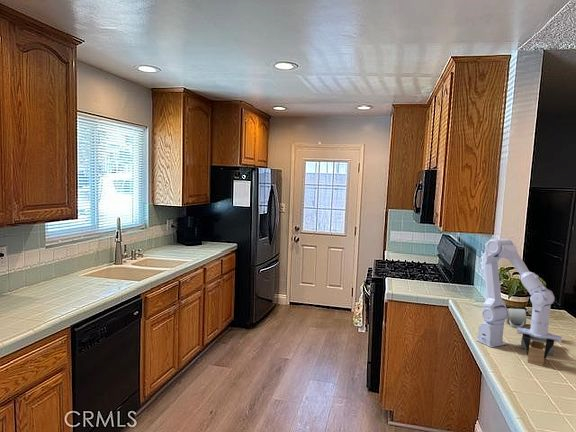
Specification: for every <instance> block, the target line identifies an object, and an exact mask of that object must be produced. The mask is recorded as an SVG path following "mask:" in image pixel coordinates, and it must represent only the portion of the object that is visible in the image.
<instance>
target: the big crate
mask: <svg viewBox="0 0 576 432" xmlns="http://www.w3.org/2000/svg"><path fill="white" fill-rule="evenodd" d="M521 335H522V336H521V343H520V349H523V350H526V345H525V343H524V340H523V334H521ZM531 340H534V341H539V342H543V343H546V340H547V339H542V338H538V337H533V336H531V337H530V342H531ZM554 347H555V346H554V345H553V346H552V347H551V349H550V350H549V352H548V354H547V356H548V355H549V356H553V355H554V354H553V352H554ZM545 349H546V346H545Z"/></svg>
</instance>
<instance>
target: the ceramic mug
mask: <svg viewBox="0 0 576 432" xmlns="http://www.w3.org/2000/svg"><path fill="white" fill-rule="evenodd" d="M507 310H508V312H509V315H508V318H507V319H505V322H506V324H509V325H510V326H511V327H512V328H515V329H517V328H523V327H526V324H527V312H526V309H524V308H507Z"/></svg>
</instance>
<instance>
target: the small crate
mask: <svg viewBox="0 0 576 432" xmlns="http://www.w3.org/2000/svg"><path fill="white" fill-rule="evenodd" d="M545 346H546V343H543V342H539V341H534V340H531V342H530V346H529V353H528V355H527V363H529V364H533V365H537V366H541V367H544V363H545V362H544V361H545V359H544V354H545Z"/></svg>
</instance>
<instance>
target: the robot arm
mask: <svg viewBox="0 0 576 432" xmlns="http://www.w3.org/2000/svg"><path fill="white" fill-rule="evenodd" d="M502 258H503V259H506V260H508V261H509V262H510V264H511V265H512V267H513V268H514V269H515V270H516V271H517V272H518V273H519V275H520V279H519V281H520V283H521V284H523V287H524V288H525V289H526V290H527V292H528V293H529V295H530V297H529V299H530V303H531V304H532V305H531V306H532V307H531V308H532V310H531V320H530V328H523V327H522V328H516V334H519V335H523V340H524V343H525V345H526V349H525V350H526V355H527V356H528V353H529V346H530V337H531V336H533V337H538V338H542V339H547V340H546V349H545V354H544V360H545V359H547V357H548V352H549V350H550V349H551V347H552V346H553V345H554V344H555V342H556V343H559V344H561V343H562V336H560V335H556V334H553V333H550V332H549V326H550V325H549V324H550V315H551V307H552V306H551V305H552V304H554V302H555V298H556V297H555V295H554V292H553V291H552V290H550V289H548V288H547V287H546V286H545V285H544V284H543V283H542V282H541V280H540V279H539V278H540V276H539V275H538V274H536V273H535V272H532V271H530V270H529V269H528V266H527V265H526V263H525V262H524V260H523V258H522V257H521V255H520V254H519V252H518V250H517V246H516V245H515V244H514V243H513V241H512V239H509V238H496V239H495V238H491V239H489V240H488V241H487V242H486V243H485V244H484V252H483V255H482V262H483V272H484V282H485V294H486V299H485V301H483V304H482V310H481V316H482V319H483V322H482V323H480V324H479V326H478V329H477V330H478V332H477V338H476V339H475V341H477V342H479V343H481V344H483V345H485V346H487V347H490V348H495V347H500V346H507V345H508V343H507V342H505V341H503V339H504V327H505V322H506V319H507V318H508V315H509V312H508V310H507V309H508V308H507V306H506V305H507V304H506V302H505V301H504V300H503V298H502V293H501V291H502V290H501V285H500V284H501V283H500V274H499V264H498V263H499V260H501V259H502ZM553 347H554V346H553Z"/></svg>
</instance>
